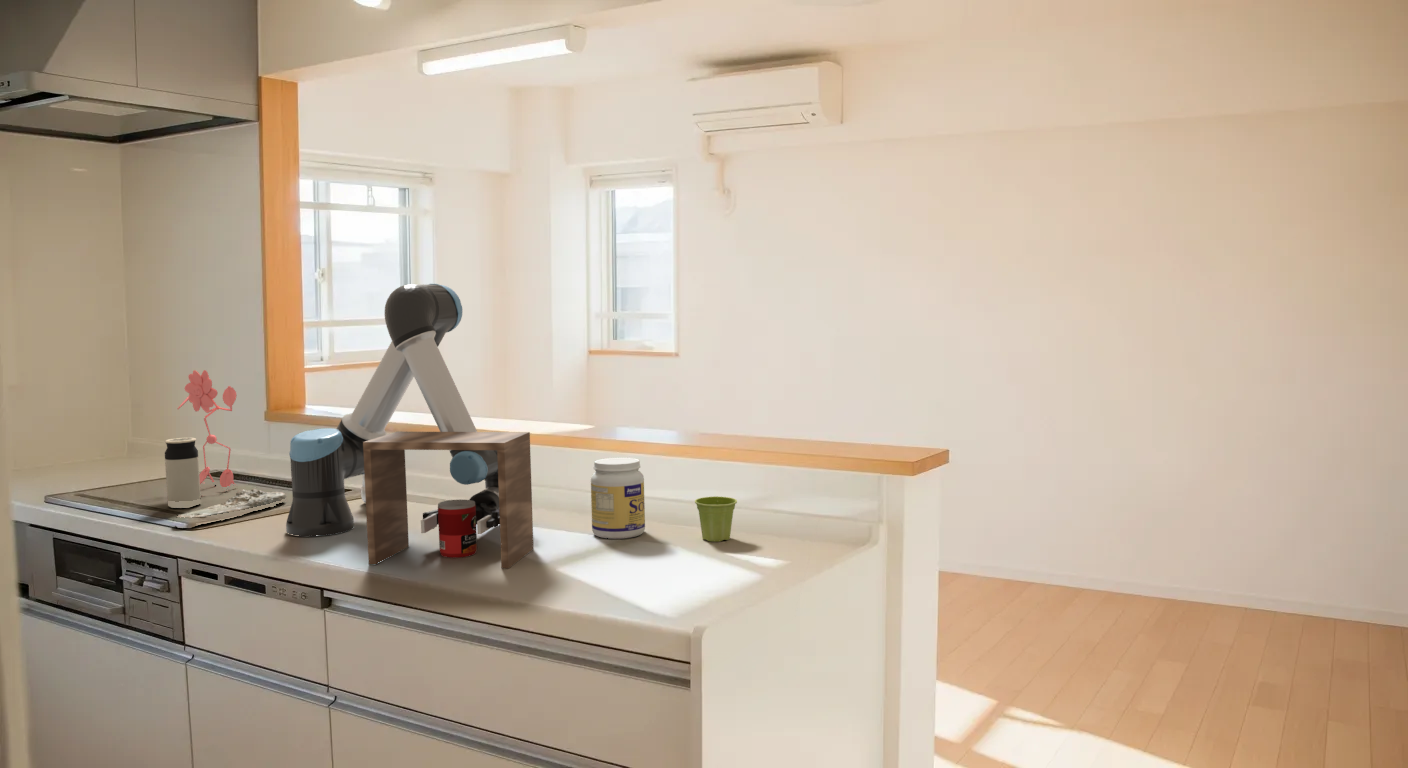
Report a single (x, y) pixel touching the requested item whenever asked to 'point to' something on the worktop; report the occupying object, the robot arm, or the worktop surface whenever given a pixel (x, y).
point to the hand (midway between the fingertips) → (450, 527)
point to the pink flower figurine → (203, 397)
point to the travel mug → (182, 470)
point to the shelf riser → (389, 450)
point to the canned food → (457, 528)
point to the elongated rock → (239, 503)
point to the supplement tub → (617, 498)
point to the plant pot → (716, 517)
